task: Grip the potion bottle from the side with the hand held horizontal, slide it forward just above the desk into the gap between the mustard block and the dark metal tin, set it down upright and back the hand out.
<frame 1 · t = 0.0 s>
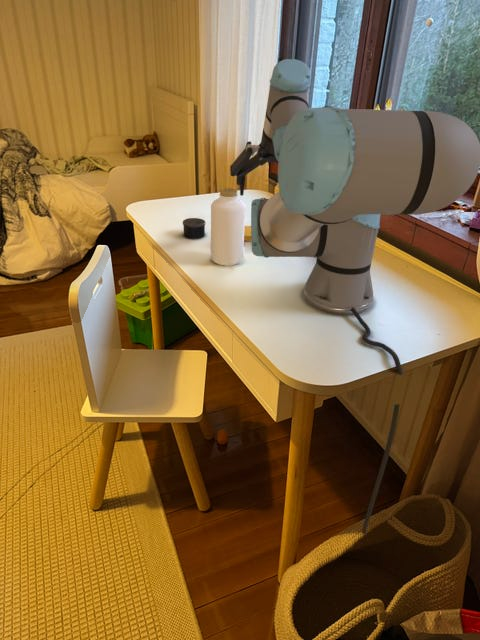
hand: (267, 191, 123), 15 cm above the table, tool tilted 35°, fingers open, 13 cm apart
dark tin: (194, 235, 136), on the table
potion bottle: (226, 261, 123), on the table
mustard block: (253, 235, 138), on the table
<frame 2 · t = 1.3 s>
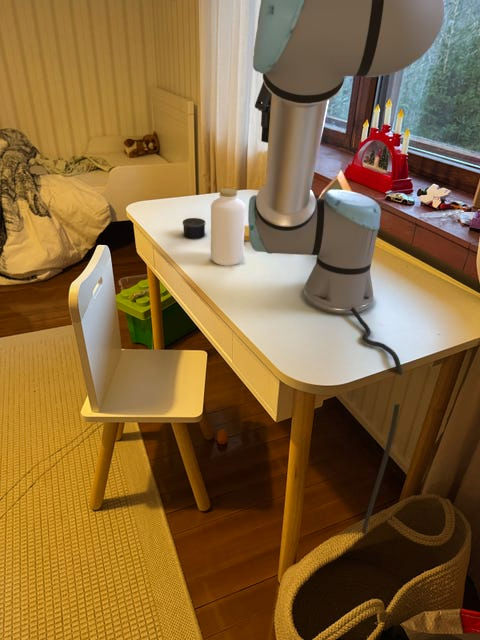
hand: (285, 139, 114), 29 cm above the table, tool pointing down, fingers open, 13 cm apart
nothing on the table moved.
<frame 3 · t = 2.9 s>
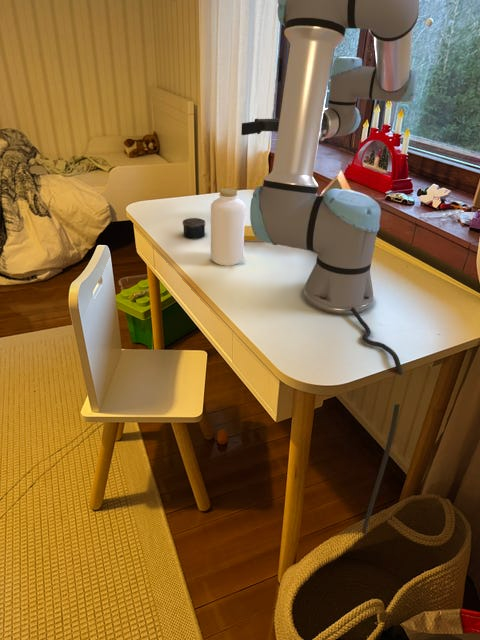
hand: (262, 133, 113), 30 cm above the table, tool horizontal, fingers open, 13 cm apart
nothing on the table moved.
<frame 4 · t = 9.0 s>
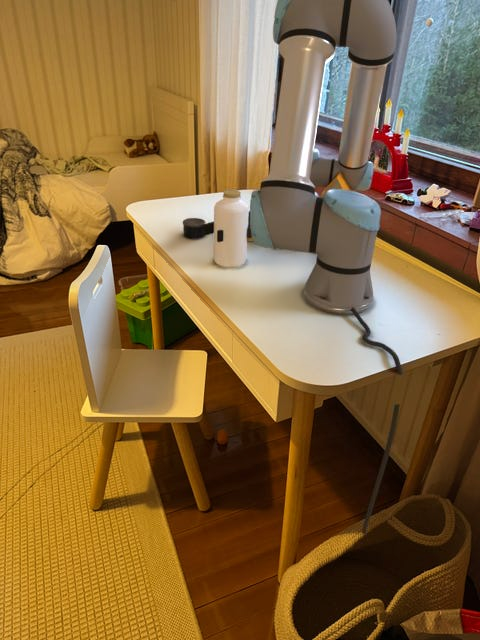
hand: (211, 233, 115), 9 cm above the table, tool horizontal, fingers open, 5 cm apart
potion bottle: (229, 262, 122), on the table, touching gripper
everything else where it was.
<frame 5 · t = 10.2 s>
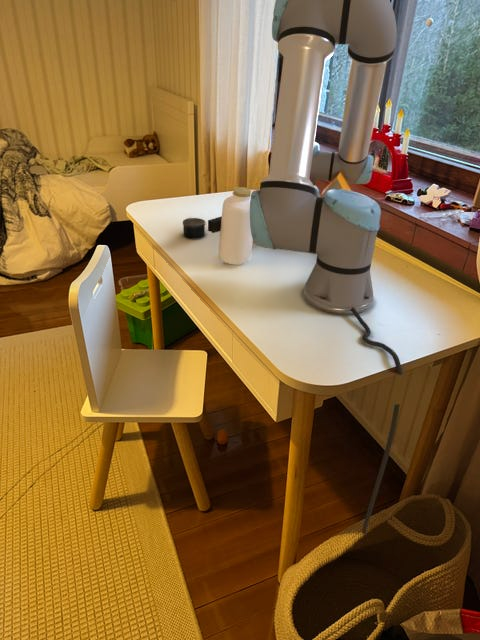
hand: (210, 226, 115), 10 cm above the table, tool horizontal, fingers closed on potion bottle
potion bottle: (233, 258, 121), point 1 cm above the table, touching gripper
everything else where it was.
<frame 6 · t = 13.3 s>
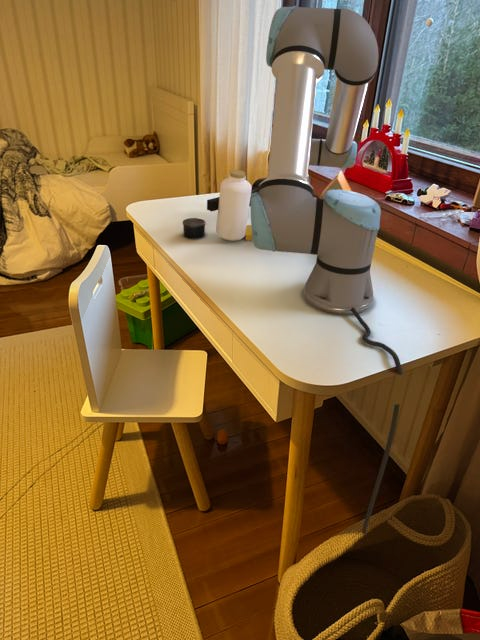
hand: (209, 205, 128), 10 cm above the table, tool horizontal, fingers closed on potion bottle
potion bottle: (230, 235, 134), point 1 cm above the table, touching gripper
everything else where it was.
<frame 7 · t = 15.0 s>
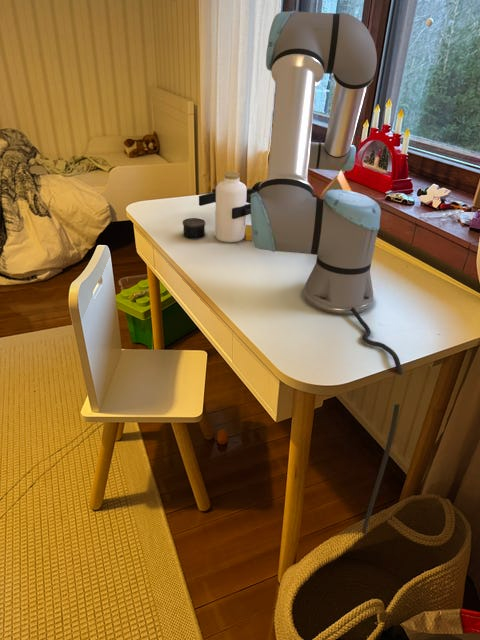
hand: (215, 207, 130), 9 cm above the table, tool horizontal, fingers open, 13 cm apart
potion bottle: (229, 238, 135), on the table
everything else where it was.
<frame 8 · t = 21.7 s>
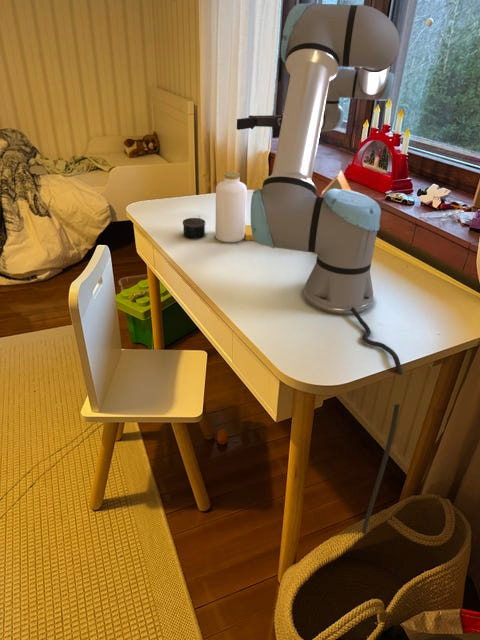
hand: (255, 128, 129), 28 cm above the table, tool horizontal, fingers open, 13 cm apart
nothing on the table moved.
at the end: potion bottle inside the target area (2.6 cm from its centre), on the table; potion bottle tilted 0°; dark tin moved 0.0 cm from its start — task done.
